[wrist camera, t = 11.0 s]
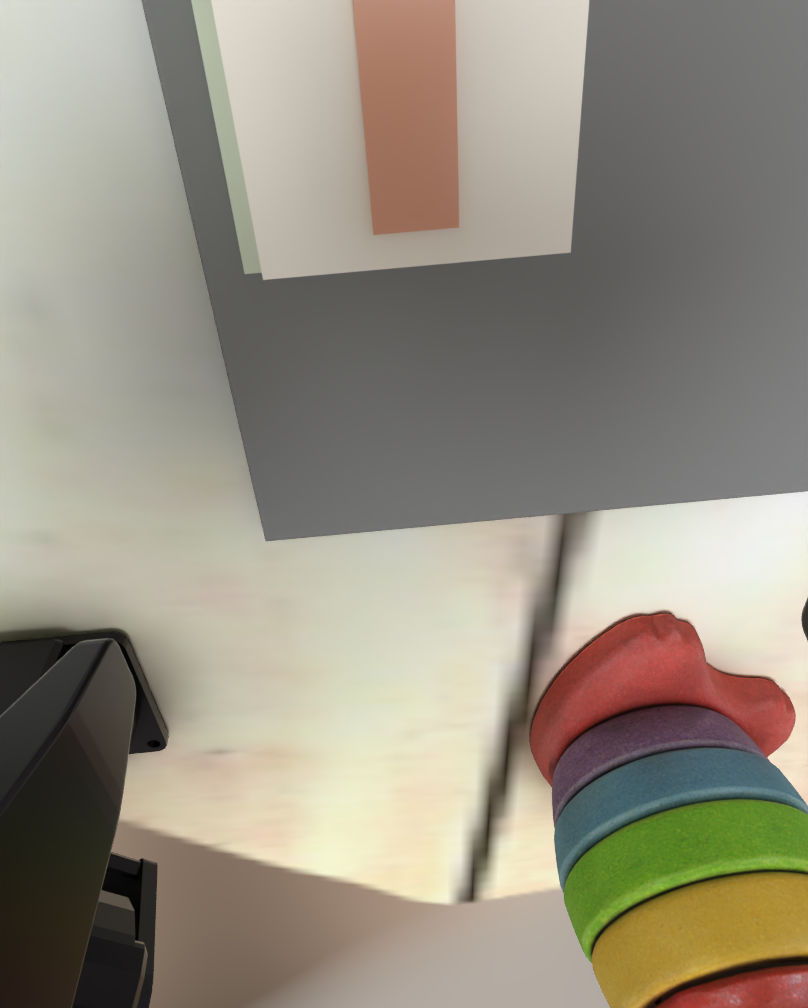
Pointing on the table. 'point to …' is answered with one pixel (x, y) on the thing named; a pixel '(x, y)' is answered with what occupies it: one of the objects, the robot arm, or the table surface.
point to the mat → (538, 299)
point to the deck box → (404, 128)
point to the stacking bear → (676, 823)
